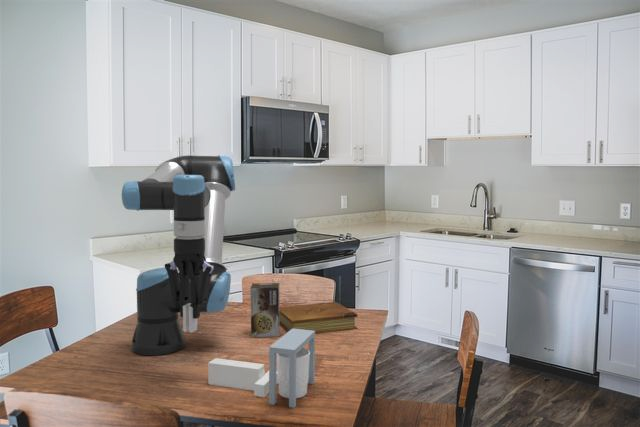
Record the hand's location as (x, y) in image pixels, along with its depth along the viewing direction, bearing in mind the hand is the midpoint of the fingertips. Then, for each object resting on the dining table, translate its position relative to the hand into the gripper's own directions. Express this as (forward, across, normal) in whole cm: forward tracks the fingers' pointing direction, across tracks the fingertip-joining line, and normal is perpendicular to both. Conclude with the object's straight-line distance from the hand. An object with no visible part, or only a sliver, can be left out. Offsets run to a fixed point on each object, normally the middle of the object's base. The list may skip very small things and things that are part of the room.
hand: (190, 330), depth 134 cm
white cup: (+13, +28, 0) cm, 30 cm away
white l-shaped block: (+13, +14, 0) cm, 19 cm away
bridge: (+12, +28, 0) cm, 30 cm away
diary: (+13, +16, +55) cm, 59 cm away
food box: (+13, +4, +40) cm, 42 cm away
